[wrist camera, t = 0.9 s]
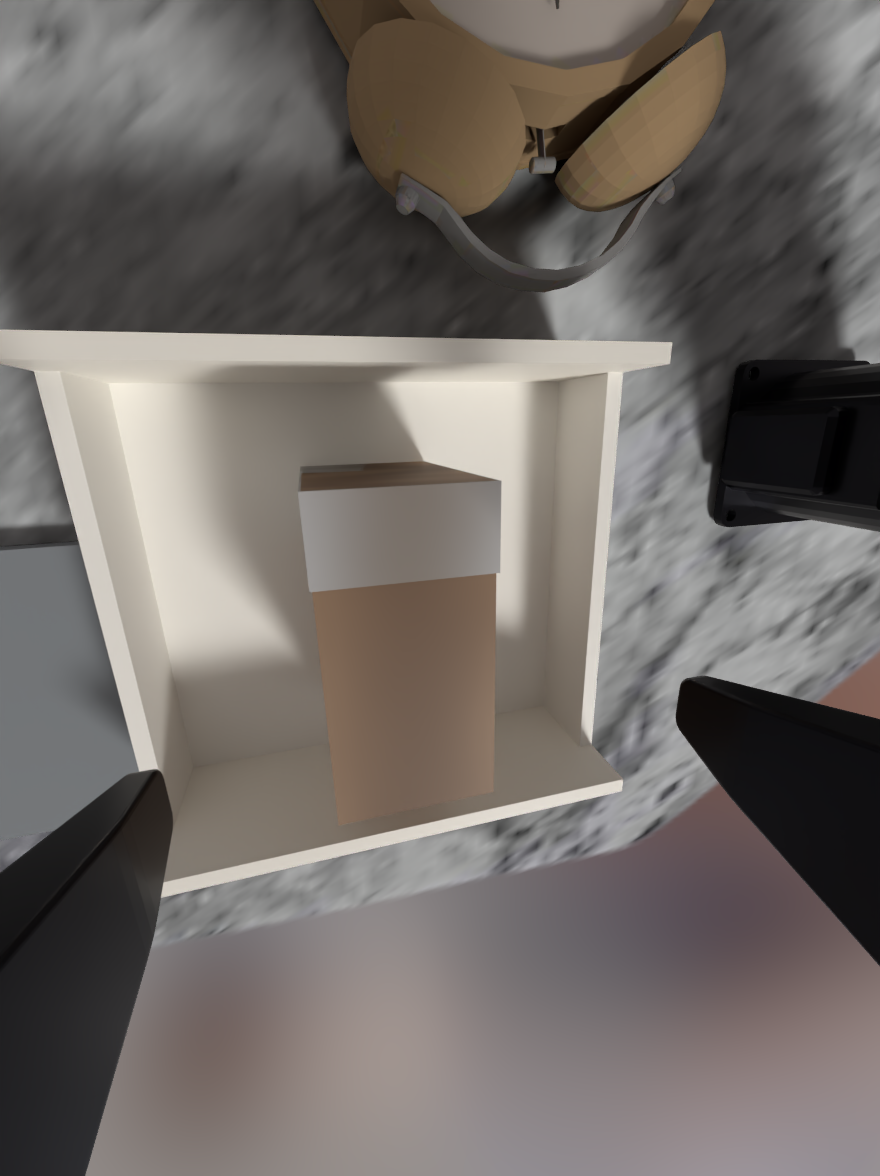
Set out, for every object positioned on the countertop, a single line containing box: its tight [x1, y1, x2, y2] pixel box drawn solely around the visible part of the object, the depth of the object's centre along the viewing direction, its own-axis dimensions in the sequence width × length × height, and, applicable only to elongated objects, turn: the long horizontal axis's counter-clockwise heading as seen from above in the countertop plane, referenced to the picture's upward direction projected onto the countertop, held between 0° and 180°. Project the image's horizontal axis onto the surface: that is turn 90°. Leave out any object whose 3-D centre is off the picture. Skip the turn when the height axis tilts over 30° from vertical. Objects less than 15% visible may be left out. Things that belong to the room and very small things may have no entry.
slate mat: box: [0, 541, 139, 841], centre depth 16 cm, size 7×10×1 cm
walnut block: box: [298, 461, 502, 826], centre depth 14 cm, size 4×8×7 cm, turn 2°
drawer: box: [0, 330, 672, 897], centre depth 15 cm, size 15×14×6 cm
